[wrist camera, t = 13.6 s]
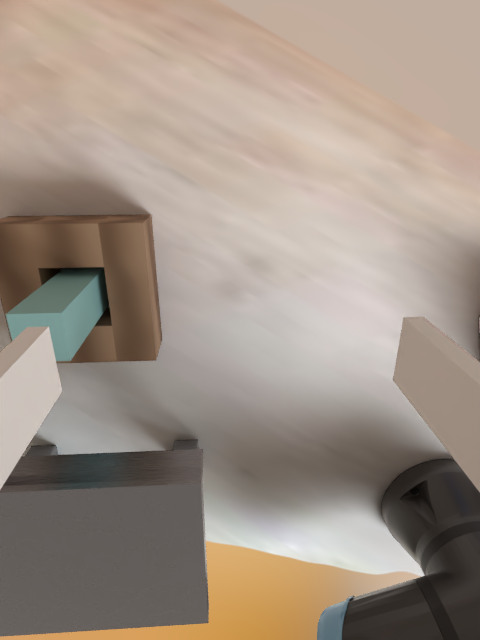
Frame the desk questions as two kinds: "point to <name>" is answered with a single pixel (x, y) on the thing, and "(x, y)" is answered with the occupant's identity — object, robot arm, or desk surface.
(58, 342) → the peg
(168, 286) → the desk surface
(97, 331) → the socket block
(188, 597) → the grey step stool
